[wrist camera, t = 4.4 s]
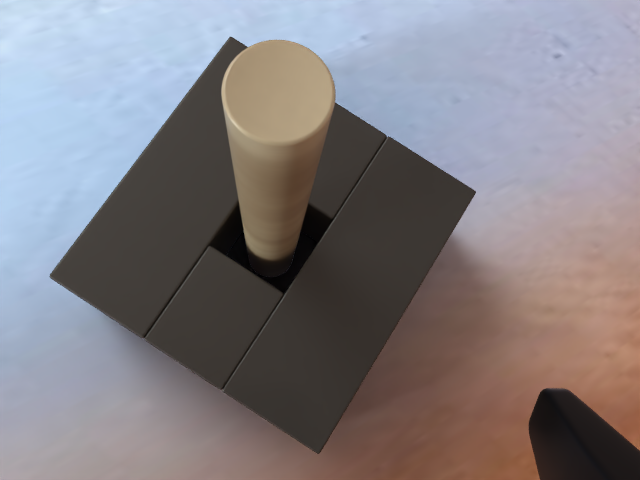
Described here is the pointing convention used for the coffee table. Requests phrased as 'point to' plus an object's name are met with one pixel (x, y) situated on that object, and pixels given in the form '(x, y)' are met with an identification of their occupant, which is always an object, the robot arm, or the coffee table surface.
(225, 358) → the stand
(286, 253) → the stick
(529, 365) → the coffee table surface
